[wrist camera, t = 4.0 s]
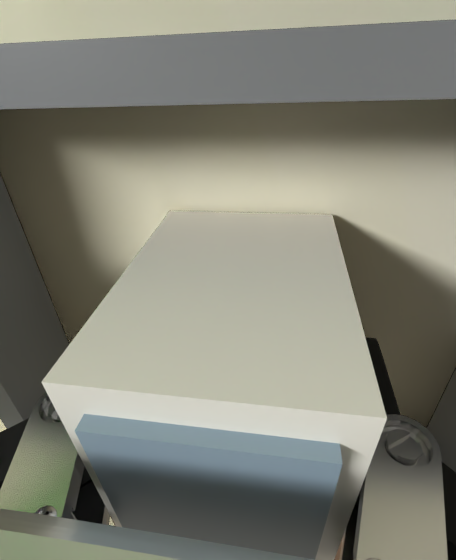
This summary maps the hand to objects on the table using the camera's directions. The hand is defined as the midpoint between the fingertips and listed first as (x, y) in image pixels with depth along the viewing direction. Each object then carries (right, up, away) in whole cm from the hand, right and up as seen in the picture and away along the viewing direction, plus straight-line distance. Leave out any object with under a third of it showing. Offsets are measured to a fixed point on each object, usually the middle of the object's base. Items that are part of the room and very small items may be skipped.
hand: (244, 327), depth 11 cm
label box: (0, +1, +1) cm, 1 cm away
